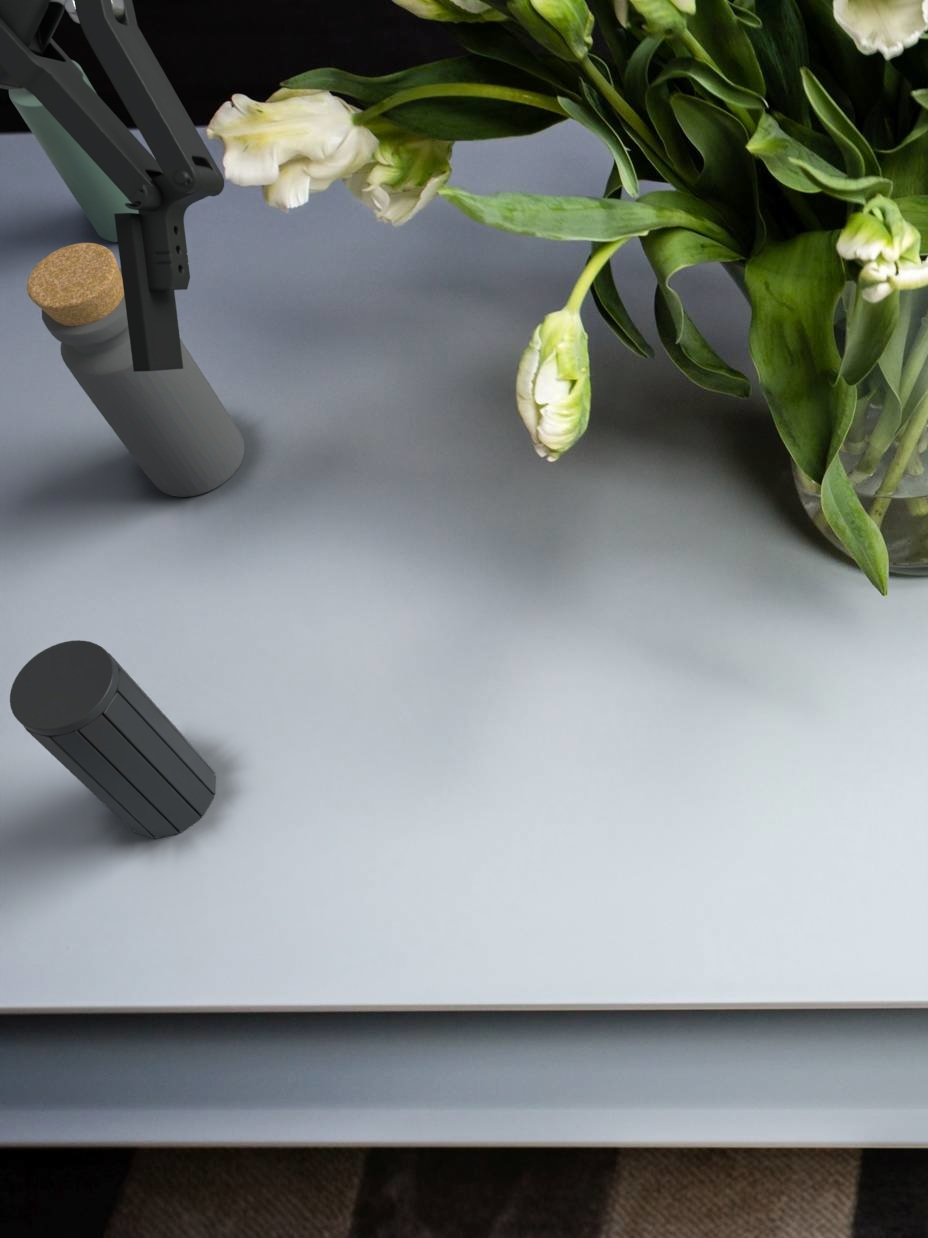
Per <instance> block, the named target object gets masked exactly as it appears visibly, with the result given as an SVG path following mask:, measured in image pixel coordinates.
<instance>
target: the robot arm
mask: <svg viewBox="0 0 928 1238" xmlns="http://www.w3.org/2000/svg"><path fill="white" fill-rule="evenodd" d="M134 7H135V6H134V3H133V0H0V89H3V90H9V89H23V88H25V89H27V90H28V91H30V92H31V93H32V94H33V95H34V96H35V97H36V98H37V99H38V100H39V101H40V103H41V104H42V105H43V106H44V107H45V108H46V109H47V110H48V111H49V112H50V114H51V115H52V116H53V117H54V118H55V119H56V120H57V121H58V122H59V123H60V125H61V126H62V127H63V128H64V129H65V130H66V131H67V132H68V133H69V134H70V136H71V137H72V138H73V139H74V140H75V141H76V142H77V143H78V144H79V145H80V147H81V148H82V149H83V150H84V151H85V152H86V153H87V154H88V155H89V157H90V158H91V159H92V160H93V161H94V162H95V163H96V164H97V165H98V166H99V168H100V169H101V170H102V171H103V172H104V173H105V174H106V175H107V176H108V177H109V179H110V180H111V181H112V182H113V183H114V184H115V185H116V186H117V187H118V188H119V190H120V191H121V192H122V193H123V194H124V195H125V196H126V197H127V198H128V199H129V201H130V202H131V203H132V204H131V203H126V204H125V206H126V207H128V208H129V209H133V210H138V211H139V214H137V213H116V214H114V216H115V224H116V232H117V240H118V242H117V247H118V256H119V263H120V269H121V272H122V280H123V288H124V296H125V305H126V313H127V321H128V329H129V337H130V345H131V353H132V361H133V369H134V372H136V371H159V370H172V369H183V361H182V352H181V344H180V339H181V336H180V328H179V327H180V326H179V319H178V311H177V302H176V293H175V291H183V290H184V291H185V290H188V287H189V283H190V280H191V274H190V264H189V256H188V246H187V238H186V230H185V229H186V228H185V214H186V211H187V209H188V208H189V207H190V206H191V205H193V204H194V203H197V202H199V201H201V200H203V199H205V198H208V197H216V196H219V195H220V194H221V193H223V191H224V188H225V179H224V176H223V174H222V172H221V170H220V168H219V166H218V165H217V163H216V161H215V160H214V157H213V156H212V154H211V152H210V151H209V149H208V147H207V145H206V143H205V142H204V139H202V137H201V135H200V133H199V132H198V130H197V128H196V126H195V124H194V122H193V121H192V119H191V117H190V116H189V113H188V112H187V110H186V109H185V107H184V105H183V104H182V103H183V102H181V100H180V98H179V96H178V94H177V92H176V91H175V89H174V87H173V86H172V84H171V82H170V80H169V78H168V77H167V75H166V73H165V71H164V70H163V68H162V66H161V65H160V63H159V61H158V59H157V57H156V56H155V54H154V52H153V51H152V49H151V47H150V45H149V43H148V41H147V40H146V38H145V36H144V35H143V33H142V31H141V29H140V27H139V25H138V21H137V16H136V11H135V8H134ZM65 11H66V12H67V13H68V15H69V17H70V18H71V19H72V21H73V22H75V23H77V24H78V25H79V24H80V27H81V30H82V32H83V34H84V36H85V38H86V40H87V42H88V44H89V46H90V48H91V49H92V51H93V53H94V54H95V56H96V58H97V60H98V62H99V63H100V65H101V67H102V68H103V71H104V72H105V74H106V75H107V77H108V79H109V81H110V82H111V84H112V86H113V88H114V89H115V91H116V93H117V94H118V96H119V98H120V100H121V101H122V103H123V105H124V106H125V109H126V110H127V112H128V114H129V115H130V117H131V119H132V121H133V122H134V124H135V126H136V128H137V129H138V131H139V133H140V135H141V136H142V138H143V140H144V141H145V144H146V145H147V147H148V148H149V150H150V152H151V153H150V152H149V150H148V149H147V148H146V147H145V146H144V145H143V144H142V143H141V142H140V140H139V139H138V138H137V137H136V136H135V134H133V133H132V131H130V129H129V128H128V127H127V126H126V125H125V124H124V122H122V120H121V119H120V118H119V117H118V116H117V115H116V114H115V112H113V110H111V108H110V107H109V106H108V105H107V104H106V103H105V102H104V100H103V99H102V98H101V97H100V96H99V95H98V93H97V92H96V91H95V92H96V93H95V92H94V91H93V90H92V89H91V87H90V86H89V85H88V84H87V83H86V82H85V81H84V79H83V76H84V75H83V73H82V72H81V70H80V69H79V68H78V67H77V66H76V65H75V64H74V63H73V62H72V60H73V59H71V58H70V57H69V56H68V55H67V54H66V53H65V51H64V50H63V49H62V48H61V47H60V46H59V45H58V44H57V42H55V40H54V39H53V36H54V33H55V31H56V30H57V27H58V26H59V23H60V21H61V19H62V17H63V15H64V13H65Z"/></svg>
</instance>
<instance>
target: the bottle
mask: <svg viewBox="0 0 928 1238" xmlns="http://www.w3.org/2000/svg"><path fill="white" fill-rule="evenodd" d="M117 261H118V260H117V259H116V256H115V255H114V253H113V252H112V250H110V249H109V248H108V247H106V246H104V245H101V244H98V243H94V242H80V243H73V244H70V245H67V246H63V247H61V248H59V249H57V250H55V251H52V252H50V253H49V254H48V255H47V256H45V257H44V258H43V259H41V260H40V261H39V262H38V263H37V264H36V265H35V266H34V268H33V269H32V270H31V272H30V274H29V276H28V279H27V282H26V292H27V295H28V297H29V298H30V300H31V301H32V303H34V304H35V305H36V306H38V307H39V308H40V309H41V319H42V322H43V324H44V326H45V327H46V329H47V330H48V332H49V333H50V334H51V335H52V337H54V338H55V340H57V341H59V342H60V356H61V358H62V360H63V363H64V364H65V366H66V367H67V369H68V370H69V372H70V373H71V374H72V376H73V377H74V379H75V380H76V382H77V383H78V385H79V386H80V387H81V388H82V390H83V391H84V393H85V394H86V395H87V397H88V398H89V399H90V401H91V402H92V403H93V405H94V406H95V408H96V409H97V410H98V411H99V413H100V414H101V416H102V417H103V418H104V420H105V421H106V422H107V424H108V425H109V427H110V428H111V429H112V431H113V432H114V433H115V435H116V436H117V437H118V438H119V440H120V441H121V443H122V444H123V445H124V447H125V449H126V450H127V451H128V452H129V454H130V455H131V456H132V458H133V459H134V460H135V462H136V463H137V464H138V466H139V467H140V469H141V470H142V471H143V472H144V474H145V475H146V476H147V477H148V479H149V480H150V481H151V483H152V484H153V485H154V486H155V487H156V489H158V490H159V491H160V492H162V493H164V494H167V495H168V496H173V497H180V498H185V497H186V498H187V497H196V496H199V495H203V494H206V493H208V492H211V491H213V490H215V489H216V488H218V487H220V486H222V485H223V484H225V482H227V481H228V480H229V479H231V477H232V476H233V475H234V474H235V473H236V471H237V470H238V469H239V468H240V466H241V464H242V462H243V459H244V456H245V449H246V447H245V441H244V438H243V436H242V434H241V432H240V430H239V428H238V427H237V425H236V423H235V422H234V420H233V419H232V417H231V415H230V414H229V412H228V411H227V409H226V408H225V406H224V404H223V403H222V401H221V399H220V398H219V396H218V395H217V393H216V392H215V390H214V389H213V387H212V385H211V384H210V382H209V381H208V380H207V378H206V376H205V375H204V373H203V372H202V370H201V368H200V367H199V365H198V364H197V362H196V361H195V359H194V358H193V356H192V354H191V353H190V351H189V350H188V349H187V347H186V345H185V343H184V342H183V340H182V339H181V338H180V344H181V352H182V361H183V369H172V370H159V371H136V372H134V369H133V361H132V353H131V345H130V337H129V329H128V321H127V313H126V305H125V296H124V288H123V280H122V272H121V267H119V264H118V262H117Z"/></svg>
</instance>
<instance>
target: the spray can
mask: <svg viewBox="0 0 928 1238" xmlns="http://www.w3.org/2000/svg"><path fill="white" fill-rule="evenodd" d="M71 60H72V62H73V63H74V64H75V65H76V66H77V67H78V68H79V69H80V70H81V72H82V73H83V75H84V76H83V79H84V81H85V82H86V83H87V84H88V85H89V86H90V87H91V89H92V90H93V91H94V92H95V93H96V94H97V91H96V89H94V86H93V85H92V83H91V81H89V78H88V76H87V75H86V73H85V72H84V70H83V68H82V67H81V65H80V64H79V63H78V62H76V61H75V60H73V59H71ZM8 96H9V99H10V100H11V103H12V104H13V105H14V107H15V108H16V110H17V112H18V113H19V114H20V116H21V117H22V119H23V121H24V122H25V124H26V125H27V127H28V129H29V130H30V132H31V133H32V134H33V136H34V138H35V139H36V141H37V142H38V143H39V145H40V147H41V148H42V150H43V151H44V153H45V154H46V156H47V157H48V159H49V161H50V163H51V164H52V166H53V167H54V169H55V170H56V171H57V173H58V174H59V177H60V178H61V179H62V181H63V182H64V184H65V185H66V187H67V188H68V190H69V192H70V193H71V195H72V196H73V197H74V199H75V201H76V203H77V204H78V206H79V207H80V209H81V210H82V212H83V213H84V215H85V216H86V218H87V219H88V221H89V222H90V224H91V225H92V227H93V228H94V230H95V231H96V233H97V234H98V236H99V237H100V238H102V239H103V240H105V241H108V242H111V243H118V240H117V232H116V224H115V216H114V214H116V213H137V214H139V211H138V210H133V209H129V208H128V207H126V206H125V204H126V203H131V202H130V201H129V199H128V198H127V197H126V196H125V195H124V194H123V193H122V192H121V191H120V190H119V188H118V187H117V186H116V185H115V184H114V183H113V182H112V181H111V180H110V179H109V177H108V176H107V175H106V174H105V173H104V172H103V171H102V170H101V169H100V168H99V166H98V165H97V164H96V163H95V162H94V161H93V160H92V159H91V158H90V157H89V155H88V154H87V153H86V152H85V151H84V150H83V149H82V148H81V147H80V145H79V144H78V143H77V142H76V141H75V140H74V139H73V138H72V137H71V136H70V134H69V133H68V132H67V131H66V130H65V129H64V128H63V127H62V126H61V125H60V123H59V122H58V121H57V120H56V119H55V118H54V117H53V116H52V115H51V114H50V112H49V111H48V110H47V109H46V108H45V107H44V106H43V105H42V104H41V103H40V101H39V100H38V99H37V98H36V97H35V96H34V95H33V94H32V93H31V92H30V91H28V90H27V89H25V88H23V89H8ZM131 204H132V203H131Z"/></svg>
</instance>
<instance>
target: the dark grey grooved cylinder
mask: <svg viewBox="0 0 928 1238" xmlns="http://www.w3.org/2000/svg"><path fill="white" fill-rule="evenodd" d="M9 705H10V710H11V713H12V714H13V717H14V718H15V719H16V720H17V721H18V722H19V724H21V725H22V726H23V727H24V729H25V730H26V731H27V732H28V733H29V734H30V735H31V736H32V738H34V739H35V740H36V741H37V742H38V743H39V744H40V745H41V746H42V747H43V748H44V749H45V750H47V751H48V752H49V753H50V754H51V756H53V757H54V758H55V759H56V760H57V761H58V762H59V763H60V764H61V765H62V766H63V767H64V768H65V769H67V770H68V771H69V772H70V773H71V774H72V775H73V776H74V777H75V778H76V779H77V780H78V781H79V782H80V783H81V784H82V785H83V786H85V787H86V789H87V790H89V791H90V792H91V793H92V794H93V795H94V796H95V797H96V798H97V799H98V800H99V801H101V803H102V804H103V805H105V807H106V808H107V809H109V810H110V811H111V812H112V813H113V814H114V815H115V816H116V817H117V818H118V819H119V820H120V821H122V822H123V823H124V825H126V827H128V828H129V829H130V830H131V831H132V832H134V833H135V834H138V835H141V836H144V837H147V838H150V839H154V838H155V839H160V838H166V837H170V836H174V835H178V834H179V833H183V832H184V831H186V830H187V829H189V828H190V827H192V826H193V825H194V824H195V823H197V822H198V821H200V820H201V818H202V817H204V816H205V814H206V812H207V810H208V809H209V807H210V805H211V804H212V802H213V801H214V799H215V795H216V785H217V784H216V782H217V781H216V779H217V775H216V773H215V771H214V769H213V768H212V767H211V766H210V764H209V763H208V761H207V760H206V759H205V758H204V757H203V755H201V753H200V752H199V751H198V750H197V749H196V748H195V747H194V745H193V744H192V743H191V742H190V741H189V740H188V739H187V738H186V737H185V736H184V734H183V733H182V732H181V731H180V730H179V729H178V728H177V726H175V724H174V723H173V722H172V721H171V720H170V718H168V717H167V715H166V714H165V713H164V712H163V711H162V710H161V709H160V707H159V706H157V704H156V703H155V702H154V701H153V700H152V699H151V697H149V696H148V694H147V693H146V692H145V691H144V690H143V689H142V688H141V687H140V686H139V684H138V683H137V682H136V681H135V680H134V679H133V678H132V676H131V675H130V674H129V673H128V672H127V670H125V669H124V668H123V667H122V666H121V664H120V663H119V662H118V661H117V660H116V658H114V656H113V655H112V654H111V653H109V652H108V651H107V650H106V649H105V648H104V647H102V646H101V645H100V644H97V643H94V642H92V641H87V640H79V639H78V640H69V641H63V642H59V643H56V644H54V645H52V646H51V645H50V646H49V647H47V648H45V649H43V650H41V651H40V652H38V653H37V654H36V655H34V656H33V657H32V658H31V659H30V660H29V661H27V662H26V663H25V665H23V666H22V668H21V669H20V671H19V672H18V673H17V675H16V677H15V679H14V680H13V683H12V686H11V689H10V694H9Z"/></svg>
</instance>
